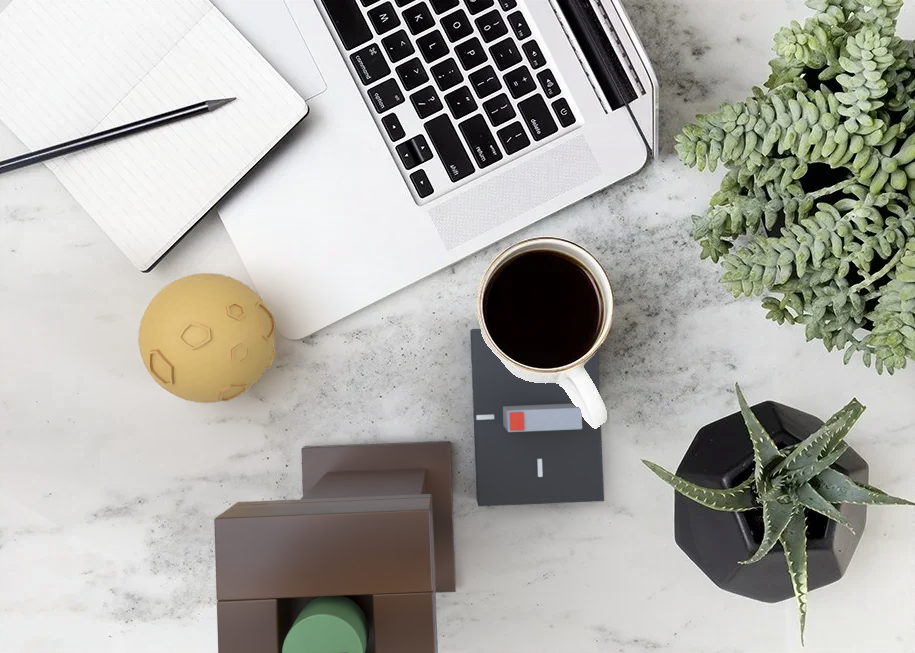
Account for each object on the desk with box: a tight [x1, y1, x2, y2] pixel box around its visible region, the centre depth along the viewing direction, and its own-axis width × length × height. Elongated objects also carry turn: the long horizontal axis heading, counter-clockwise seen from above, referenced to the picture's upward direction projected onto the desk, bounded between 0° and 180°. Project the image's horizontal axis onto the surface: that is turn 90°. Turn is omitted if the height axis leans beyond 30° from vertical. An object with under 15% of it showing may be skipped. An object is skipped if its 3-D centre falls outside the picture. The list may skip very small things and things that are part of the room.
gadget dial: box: [503, 404, 582, 432], centre depth 59 cm, size 6×2×5 cm, turn 92°
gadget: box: [469, 328, 605, 507], centre depth 63 cm, size 14×10×3 cm
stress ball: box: [138, 272, 277, 404], centre depth 59 cm, size 10×10×10 cm
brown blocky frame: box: [213, 494, 439, 653], centre depth 38 cm, size 12×10×4 cm
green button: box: [282, 596, 369, 653], centre depth 36 cm, size 4×4×3 cm
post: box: [300, 440, 457, 594], centre depth 52 cm, size 12×12×24 cm
